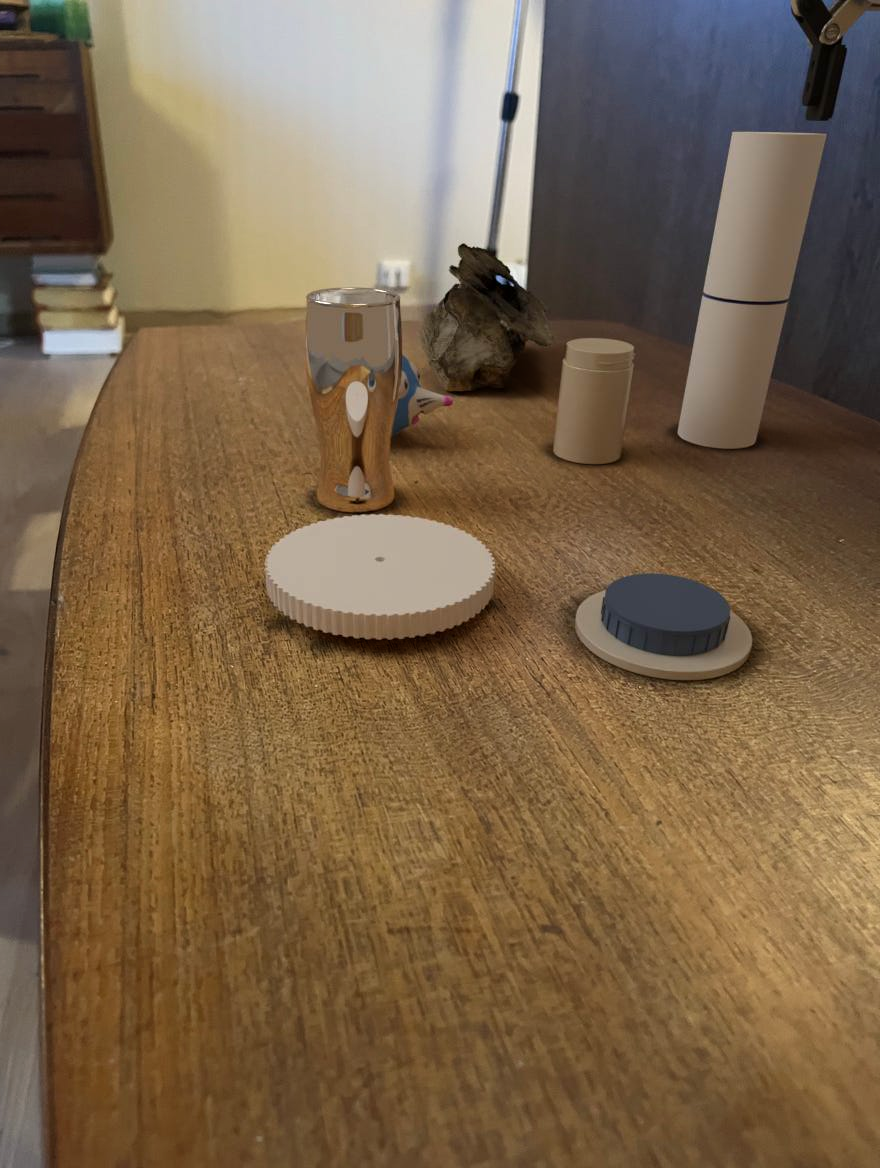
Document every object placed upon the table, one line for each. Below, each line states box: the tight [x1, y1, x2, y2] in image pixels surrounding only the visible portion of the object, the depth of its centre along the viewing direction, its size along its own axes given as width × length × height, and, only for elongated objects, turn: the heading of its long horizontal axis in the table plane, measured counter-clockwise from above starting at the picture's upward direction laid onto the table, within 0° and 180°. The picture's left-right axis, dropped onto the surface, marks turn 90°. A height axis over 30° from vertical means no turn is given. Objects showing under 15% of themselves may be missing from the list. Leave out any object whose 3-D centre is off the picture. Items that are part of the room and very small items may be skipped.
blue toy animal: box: [391, 354, 454, 438], centre depth 79 cm, size 12×12×8 cm
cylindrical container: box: [677, 131, 827, 450], centre depth 77 cm, size 7×7×25 cm
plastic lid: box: [264, 513, 496, 641], centre depth 54 cm, size 14×14×2 cm
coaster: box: [574, 589, 753, 681], centre depth 52 cm, size 10×10×1 cm
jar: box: [552, 337, 636, 465], centre depth 77 cm, size 6×6×9 cm
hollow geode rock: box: [419, 242, 554, 392], centre depth 102 cm, size 28×13×15 cm
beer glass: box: [304, 286, 403, 513], centre depth 65 cm, size 7×7×15 cm
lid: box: [601, 572, 731, 656], centre depth 51 cm, size 7×7×2 cm
